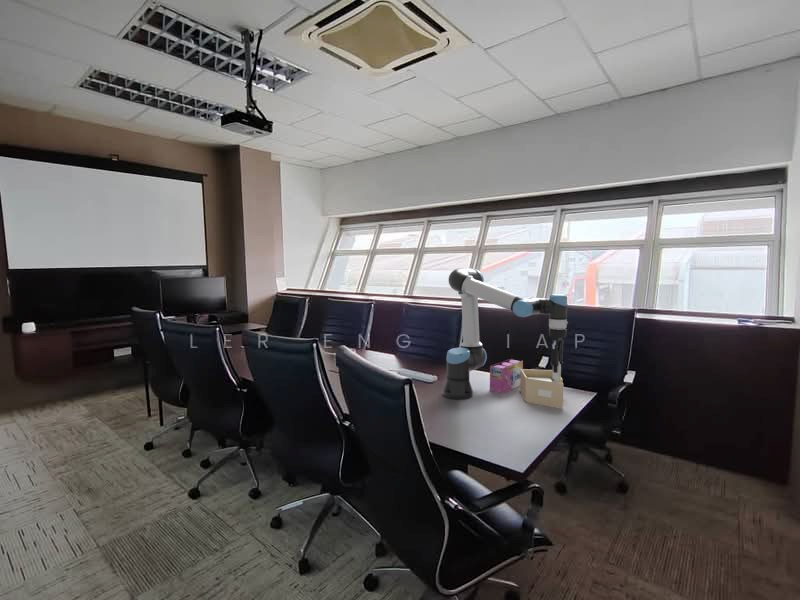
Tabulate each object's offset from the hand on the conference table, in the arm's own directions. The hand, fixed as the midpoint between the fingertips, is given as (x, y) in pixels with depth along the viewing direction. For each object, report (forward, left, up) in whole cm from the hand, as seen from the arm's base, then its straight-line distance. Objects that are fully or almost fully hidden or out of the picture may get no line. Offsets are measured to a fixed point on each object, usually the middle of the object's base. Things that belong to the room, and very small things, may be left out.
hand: (556, 378), depth 183 cm
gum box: (-19, +29, -14) cm, 37 cm away
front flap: (-5, +2, -14) cm, 15 cm away
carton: (-4, +14, -14) cm, 20 cm away
